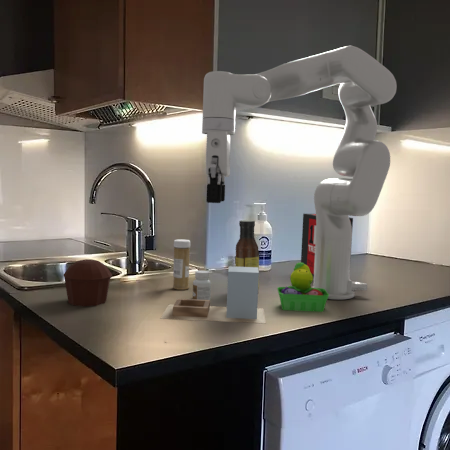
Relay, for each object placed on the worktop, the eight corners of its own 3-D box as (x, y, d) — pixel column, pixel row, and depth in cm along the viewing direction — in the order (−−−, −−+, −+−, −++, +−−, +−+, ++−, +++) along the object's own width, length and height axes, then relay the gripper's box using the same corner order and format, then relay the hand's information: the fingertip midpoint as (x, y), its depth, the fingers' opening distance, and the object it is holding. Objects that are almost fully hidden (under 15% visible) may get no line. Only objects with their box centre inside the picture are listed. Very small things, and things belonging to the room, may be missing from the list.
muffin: (60, 297, 125) (61, 257, 124) (106, 294, 129) (106, 256, 128) (66, 309, 114) (67, 265, 113) (116, 306, 119) (116, 263, 118)
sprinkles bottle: (192, 289, 139) (193, 240, 138) (177, 290, 137) (178, 241, 135) (184, 286, 143) (185, 238, 142) (169, 287, 140) (170, 239, 139)
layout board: (263, 312, 117) (265, 274, 116) (265, 327, 105) (267, 285, 104) (168, 308, 118) (169, 270, 117) (160, 323, 106) (161, 280, 105)
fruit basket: (278, 315, 116) (280, 266, 115) (276, 305, 124) (278, 260, 123) (328, 317, 115) (331, 268, 114) (322, 307, 124) (325, 262, 123)
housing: (256, 311, 114) (258, 267, 113) (256, 319, 108) (258, 272, 107) (227, 309, 115) (229, 266, 114) (226, 317, 108) (228, 271, 107)
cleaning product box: (349, 282, 156) (353, 218, 155) (323, 283, 154) (326, 217, 152) (324, 272, 172) (327, 213, 170) (300, 273, 170) (303, 213, 168)
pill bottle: (192, 300, 127) (193, 269, 126) (209, 300, 127) (210, 270, 126) (192, 304, 122) (193, 273, 122) (210, 305, 123) (211, 273, 122)
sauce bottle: (261, 294, 136) (264, 220, 134) (254, 299, 130) (258, 222, 128) (237, 291, 138) (240, 219, 136) (230, 296, 132) (233, 220, 130)
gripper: (232, 123, 108) (229, 204, 109) (237, 131, 125) (234, 201, 127) (197, 122, 108) (194, 202, 110) (206, 130, 126) (204, 199, 127)
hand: (215, 201), depth 118 cm, fingers open, 9 cm apart
